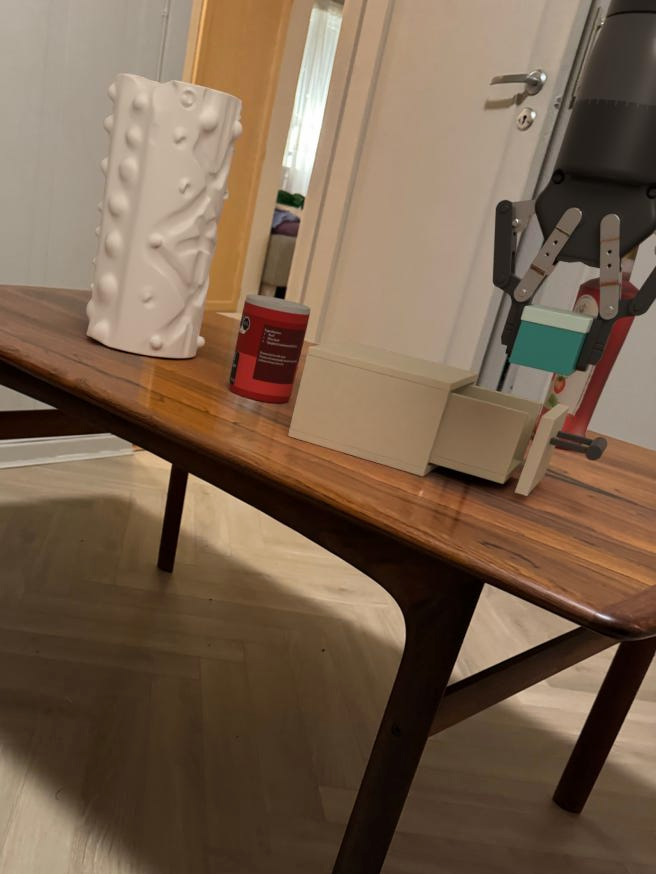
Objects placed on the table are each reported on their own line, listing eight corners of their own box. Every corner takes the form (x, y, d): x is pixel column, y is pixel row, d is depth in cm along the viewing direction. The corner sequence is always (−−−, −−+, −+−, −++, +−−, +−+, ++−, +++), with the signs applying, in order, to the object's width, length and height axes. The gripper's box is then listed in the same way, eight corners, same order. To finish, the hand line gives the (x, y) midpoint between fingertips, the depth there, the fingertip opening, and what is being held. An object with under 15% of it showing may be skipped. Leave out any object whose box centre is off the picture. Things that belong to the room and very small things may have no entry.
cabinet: (452, 457, 99) (479, 373, 95) (422, 476, 88) (451, 383, 84) (328, 421, 104) (349, 340, 100) (287, 436, 94) (308, 346, 90)
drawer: (590, 489, 93) (618, 418, 89) (578, 511, 83) (608, 433, 80) (420, 440, 99) (440, 373, 96) (390, 456, 90) (412, 382, 87)
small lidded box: (580, 370, 71) (599, 316, 69) (570, 376, 65) (590, 319, 63) (521, 356, 72) (538, 304, 71) (506, 362, 67) (524, 305, 65)
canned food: (247, 384, 116) (265, 294, 111) (301, 401, 112) (323, 309, 107) (215, 388, 110) (233, 293, 105) (271, 406, 106) (292, 308, 101)
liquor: (514, 434, 118) (596, 199, 106) (553, 437, 121) (637, 210, 109) (556, 451, 112) (647, 205, 100) (596, 454, 116) (689, 216, 103)
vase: (148, 362, 117) (193, 78, 103) (58, 333, 125) (88, 65, 111) (221, 359, 130) (270, 106, 116) (135, 333, 138) (171, 92, 124)
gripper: (517, 83, 61) (442, 344, 68) (751, 110, 55) (642, 390, 63) (534, 101, 67) (464, 339, 74) (746, 128, 62) (647, 380, 69)
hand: (546, 361), depth 69 cm, fingers closed on small lidded box, 4 cm apart
